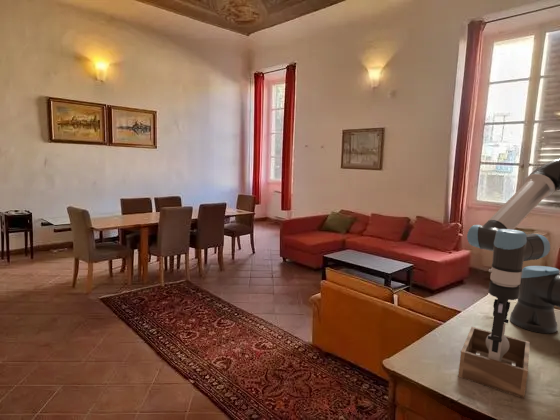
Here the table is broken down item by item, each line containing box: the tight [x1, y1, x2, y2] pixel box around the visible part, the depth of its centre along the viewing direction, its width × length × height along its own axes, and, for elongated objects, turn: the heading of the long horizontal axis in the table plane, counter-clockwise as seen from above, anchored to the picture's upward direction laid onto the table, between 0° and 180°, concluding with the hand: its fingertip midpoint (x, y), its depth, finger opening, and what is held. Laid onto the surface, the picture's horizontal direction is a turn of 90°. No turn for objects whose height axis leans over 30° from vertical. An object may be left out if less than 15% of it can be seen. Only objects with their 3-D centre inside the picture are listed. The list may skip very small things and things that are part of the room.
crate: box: [457, 326, 531, 399], centre depth 109 cm, size 20×16×8 cm
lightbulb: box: [486, 334, 510, 362], centre depth 109 cm, size 6×6×11 cm
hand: (495, 351), depth 109 cm, fingers open, 13 cm apart
